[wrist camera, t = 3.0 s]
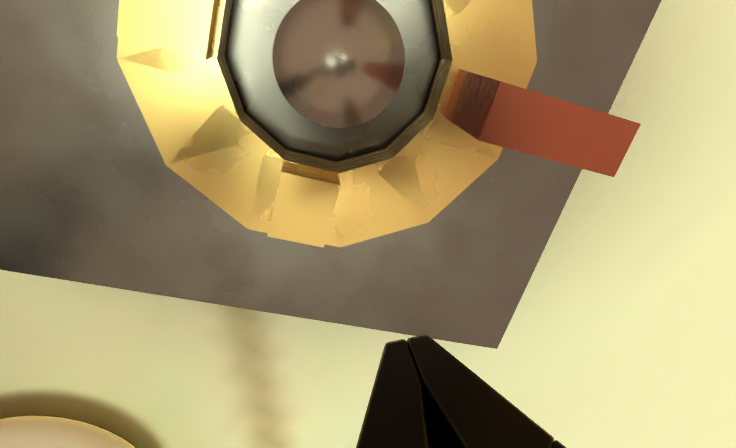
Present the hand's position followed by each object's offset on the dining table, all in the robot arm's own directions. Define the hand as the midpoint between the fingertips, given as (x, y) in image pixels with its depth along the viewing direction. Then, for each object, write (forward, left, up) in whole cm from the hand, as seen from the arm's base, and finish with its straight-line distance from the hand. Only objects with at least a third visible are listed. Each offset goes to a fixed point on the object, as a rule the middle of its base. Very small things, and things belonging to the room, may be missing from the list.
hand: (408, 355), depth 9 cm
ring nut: (-1, +5, -10) cm, 11 cm away
